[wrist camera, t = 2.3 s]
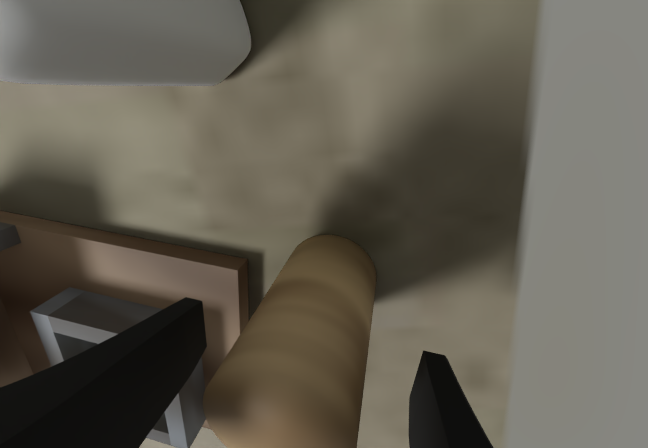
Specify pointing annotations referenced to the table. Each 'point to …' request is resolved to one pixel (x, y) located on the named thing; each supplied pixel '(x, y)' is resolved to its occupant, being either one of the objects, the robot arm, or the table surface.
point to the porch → (111, 302)
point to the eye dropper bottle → (122, 41)
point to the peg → (300, 355)
